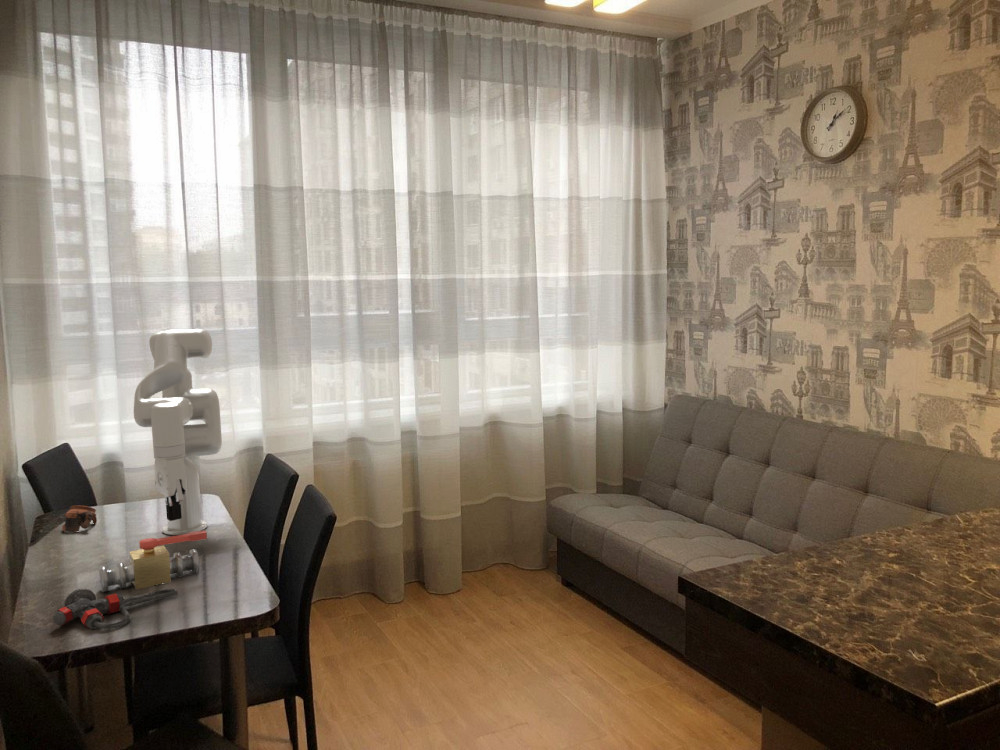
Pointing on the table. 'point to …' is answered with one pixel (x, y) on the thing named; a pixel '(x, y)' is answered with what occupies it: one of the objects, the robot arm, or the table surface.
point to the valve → (101, 607)
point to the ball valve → (149, 568)
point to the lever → (172, 539)
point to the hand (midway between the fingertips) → (174, 519)
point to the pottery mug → (79, 518)
